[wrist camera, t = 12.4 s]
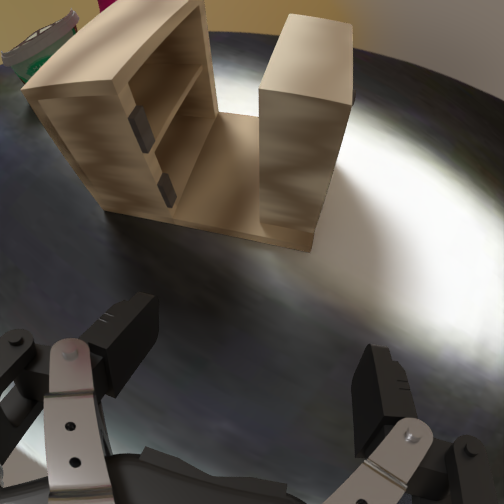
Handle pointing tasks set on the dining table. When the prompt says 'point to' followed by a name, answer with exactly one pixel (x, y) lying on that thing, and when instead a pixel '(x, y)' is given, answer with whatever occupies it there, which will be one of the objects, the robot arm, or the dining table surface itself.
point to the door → (303, 119)
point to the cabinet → (154, 122)
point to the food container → (40, 47)
